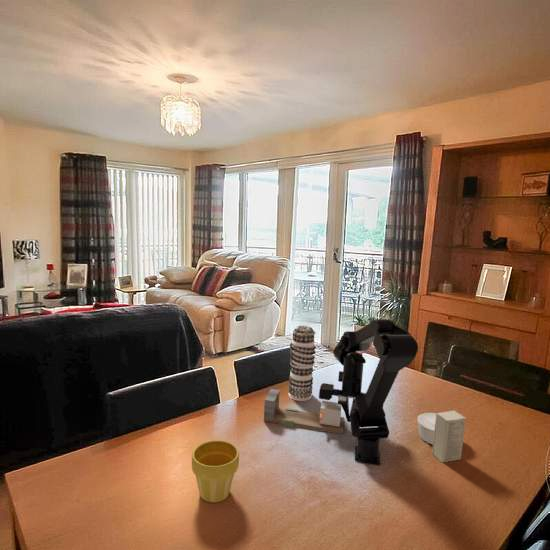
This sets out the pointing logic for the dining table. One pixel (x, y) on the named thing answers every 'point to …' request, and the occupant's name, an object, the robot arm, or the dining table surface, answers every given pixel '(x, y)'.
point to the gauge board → (294, 416)
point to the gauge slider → (330, 413)
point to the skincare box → (448, 436)
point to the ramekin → (427, 426)
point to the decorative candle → (301, 363)
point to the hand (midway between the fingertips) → (348, 421)
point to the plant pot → (215, 468)
